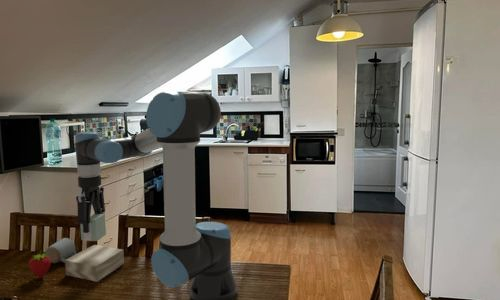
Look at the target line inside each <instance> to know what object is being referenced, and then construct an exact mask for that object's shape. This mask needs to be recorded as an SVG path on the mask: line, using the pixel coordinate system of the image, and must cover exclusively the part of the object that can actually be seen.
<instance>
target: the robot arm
mask: <svg viewBox="0 0 500 300" xmlns="http://www.w3.org/2000/svg"><path fill="white" fill-rule="evenodd" d="M221 115H222V111H221V106H220V104H219V102H218V100H217V99H216V98H215V97H214V96H213V95H212V94H210V93H208V92H204V91H178V90H177V91H175V90H172V91H170V90H169V91H161V92H159V93H157V94H155V95H154V96H153V98H152V99H151V100H150V101H149V104H148V105H147V109H146V115H145V117H146V119H145V121H146V126H147V129H145V130H143V131H141V132H139V133H138V134H136V135H133V136H128V137H127V136H126V137H121V138H120V137H118V138H108V139H100V137H99V134H98V132H96V131H83V132H76V133H75V135H74V139H75V141H74V142H75V143H74V146H75V147H74V148H75V157H76V159H75V160H76V169H77V176H78V177H77V182H78V183H77V185H78V187H79V188H81V193H80V195H79V196H76V197H75V200H76V203H77V223H78V224H79V225H80V224H83V232H84V240H83V241H86V242H93V241H92V226H91V223H90V214H92V212H91V211H92V209H93V212H94V213H93V214H105V213H106V208H105V207H106V206H105V197H104V196H105V195H104V189H105V188H104V187H103V186H101V185H102V175H101V173H102V171H101V170H102V169H101V163H104V164H115V163H117V162H119V161H121V160H125V159H130V158H132V159H133V158H138V157H141V158H142V157H144V156H145V157H146V156H148V155H150V154H152V152H153V151H155V150H156V149H159V148H162V162H163V163H162V169H163V170H162V172H163V173H162V174H163V175H162V176H163V204H164V205H163V206H164V207H163V209H164V211H163V212H164V232H162V233H161V235H160V236H159V248H156V249H155V250H154V251H153V253H152V254H151V259H150V260H151V261H150V262H151V267H152V270H153V272H154V274H155V276H156V277H157V278H158V280H159V281H160V282H161V283H162V284H163V285H165V287H169V288H178V287H181V286H182V285H185V284H187V283H188V282H189V281H191V282H190V286H189V295H190V298H191V299H192V300H232V299H234V297H235V296H236V294H237V282H236V279H235V276H234V273H233V271H232V258H231V257H232V245H231V244H232V236H231V235H232V233H231V228H230V227H229V226H228V225H227V224H225V223H222V222H218V221H201V222H198V223H196V222H197V221H196V218H197V217H196V163H195V162H196V157H195V154H196V153H195V149H196V147H197V145H198V144H199V143H200V142H201V134H203V133H206V132H208V131H209V132H210V131H212V130H213V129H214V128H215V127H217V126H218V124H219V122H220V120H221Z"/></svg>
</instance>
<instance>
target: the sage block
mask: <svg viewBox="0 0 500 300" xmlns="http://www.w3.org/2000/svg"><path fill="white" fill-rule="evenodd" d="M90 223H91V226H92V241H91V242H98V241H100V240H101V239H102V238H103V237H105V236H107V229H106V215H105V214H95V213H91V214H90ZM79 225H80V239H81V241H84V232H83V224H79Z"/></svg>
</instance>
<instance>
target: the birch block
mask: <svg viewBox="0 0 500 300" xmlns="http://www.w3.org/2000/svg"><path fill="white" fill-rule="evenodd" d="M124 251H125V250H124V249H122V248H117V247H116V248H115V247H111V246H104V245H98V244H93V245H91V246H90V247H89V246H88V247H87V248H86V249H83V250H82V251H80V252H78V253H76V255H72V256H70V257H68V258H66V259H65V263H64V266H65V275H66V276H69V277H73V278H79V279H82V280H83V279H84V280H88V281H93V282H99V281H101V280H102V279H103V278H105V277H106V276H108V275H109V274H111V273H113V271H115V270H117V269H118V268H120V267H121V266H123V265H125V256H124V255H125V254H124V253H125V252H124Z"/></svg>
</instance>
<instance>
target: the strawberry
mask: <svg viewBox="0 0 500 300" xmlns="http://www.w3.org/2000/svg"><path fill="white" fill-rule="evenodd" d="M41 252H42V251H40V252H39V253H38V254H36V255H35V254H34V255H33V257H32V258H31V259H30V260H29V262H28V267H29V269H30V271H32V273H33V274H34V275H35V276H37V277H38V278H41V279H43V277H45V275H46V274H47V273H48V271H49V269H50V268H51V260H50V258H48V257H47V255H46V254H48V253H46V252H45V253H42V254H41Z"/></svg>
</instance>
